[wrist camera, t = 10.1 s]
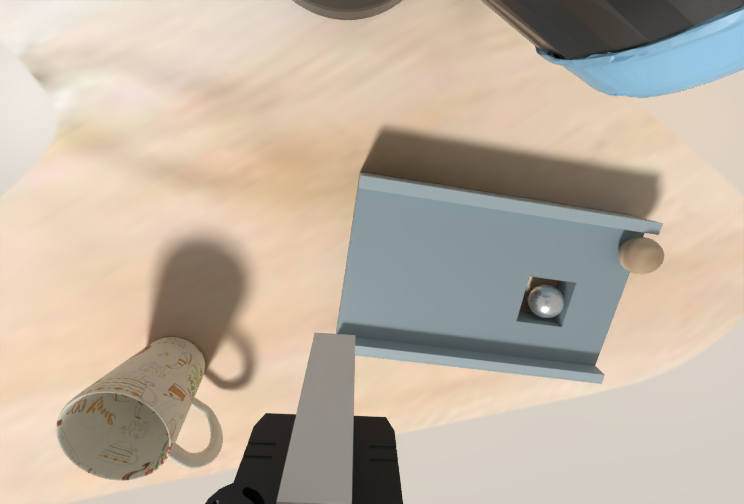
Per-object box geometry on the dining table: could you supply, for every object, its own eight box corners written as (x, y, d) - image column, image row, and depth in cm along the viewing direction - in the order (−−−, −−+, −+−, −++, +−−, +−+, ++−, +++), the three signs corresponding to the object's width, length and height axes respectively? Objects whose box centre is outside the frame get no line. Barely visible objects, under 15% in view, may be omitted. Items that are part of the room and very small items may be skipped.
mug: (169, 309, 36) (101, 370, 26) (265, 388, 39) (236, 468, 29) (115, 361, 37) (32, 437, 27) (212, 434, 40) (168, 525, 30)
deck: (360, 171, 33) (360, 175, 29) (629, 214, 35) (662, 223, 31) (336, 331, 37) (334, 352, 33) (577, 360, 39) (601, 383, 36)
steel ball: (570, 296, 33) (568, 287, 36) (533, 284, 34) (534, 276, 37) (558, 327, 34) (557, 316, 37) (522, 315, 35) (524, 305, 38)
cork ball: (616, 231, 33) (643, 239, 30) (649, 236, 33) (679, 245, 30) (605, 264, 34) (630, 276, 31) (637, 269, 34) (665, 281, 31)
